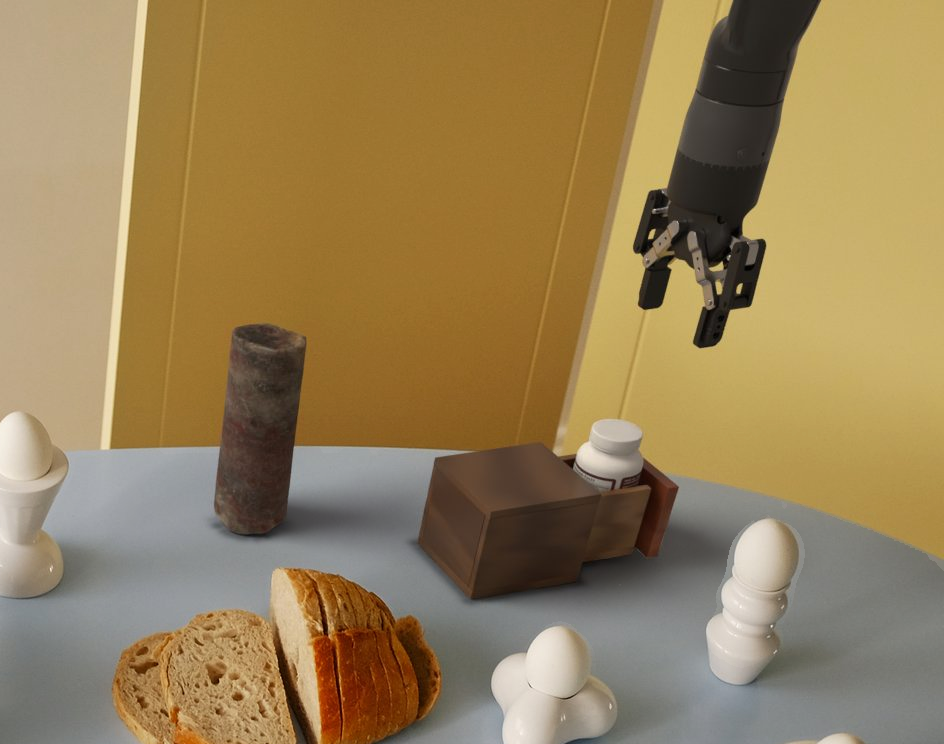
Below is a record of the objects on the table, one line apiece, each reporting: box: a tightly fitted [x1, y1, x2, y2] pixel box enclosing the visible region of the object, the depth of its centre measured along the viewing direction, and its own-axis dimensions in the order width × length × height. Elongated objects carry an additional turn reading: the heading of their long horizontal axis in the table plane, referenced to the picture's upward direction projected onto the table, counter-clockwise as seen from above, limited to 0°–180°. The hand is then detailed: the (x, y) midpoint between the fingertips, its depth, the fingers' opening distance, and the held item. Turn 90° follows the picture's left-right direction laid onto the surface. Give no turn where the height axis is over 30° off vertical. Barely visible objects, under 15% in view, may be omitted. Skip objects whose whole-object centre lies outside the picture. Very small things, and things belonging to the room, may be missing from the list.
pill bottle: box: [573, 418, 644, 492], centre depth 170 cm, size 6×6×11 cm
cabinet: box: [416, 441, 601, 600], centre depth 169 cm, size 12×11×10 cm
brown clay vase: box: [213, 322, 307, 535], centre depth 172 cm, size 8×7×20 cm
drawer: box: [557, 453, 680, 563], centre depth 172 cm, size 12×9×8 cm
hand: (676, 326), depth 160 cm, fingers open, 8 cm apart
